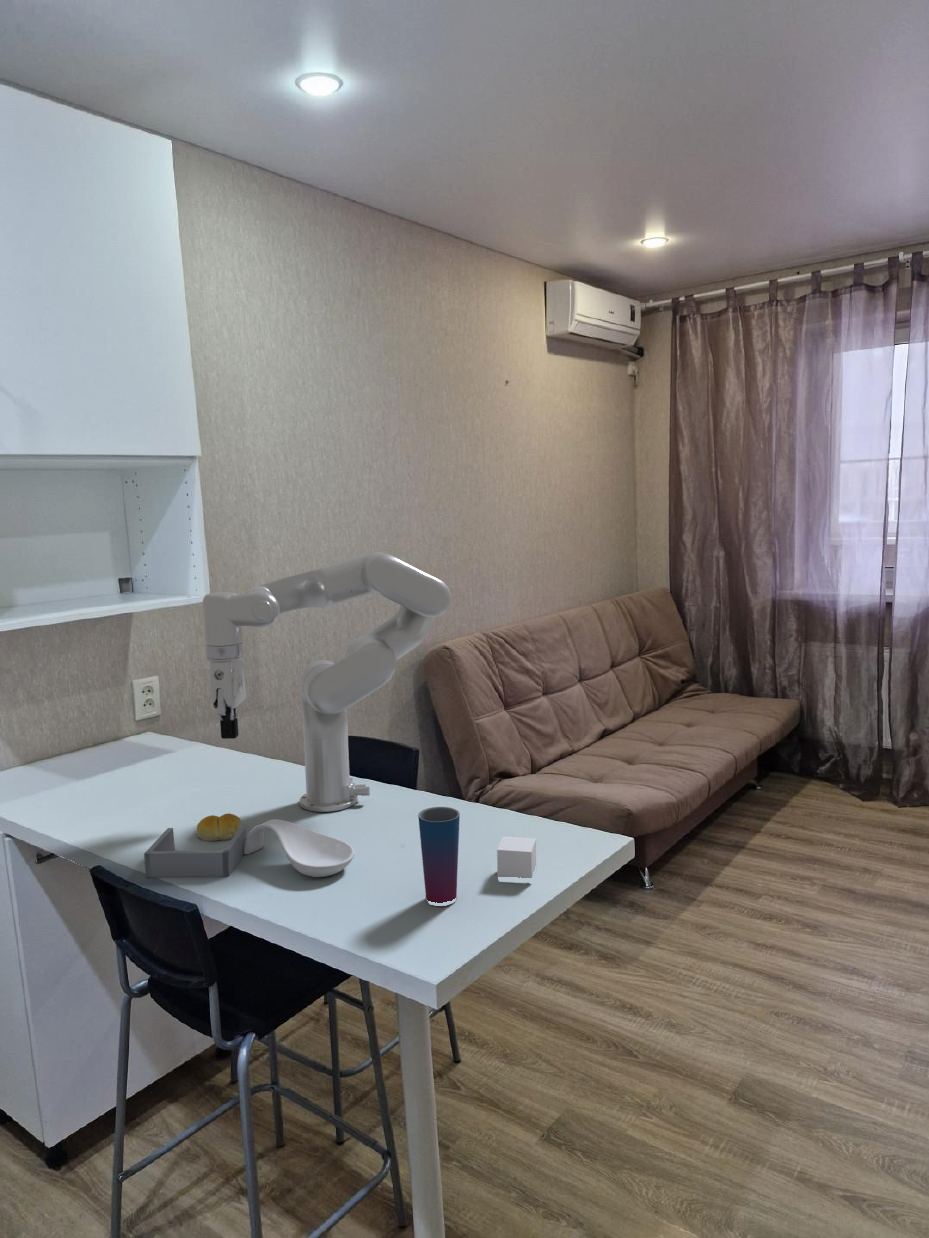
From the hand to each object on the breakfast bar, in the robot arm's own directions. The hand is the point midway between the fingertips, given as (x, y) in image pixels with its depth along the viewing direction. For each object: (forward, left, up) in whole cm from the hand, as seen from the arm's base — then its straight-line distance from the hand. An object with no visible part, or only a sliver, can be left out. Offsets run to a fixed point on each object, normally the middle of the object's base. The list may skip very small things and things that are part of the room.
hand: (229, 737), depth 185 cm
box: (0, +24, -17) cm, 30 cm away
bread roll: (0, +10, -18) cm, 20 cm away
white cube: (-59, +31, -17) cm, 69 cm away
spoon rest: (-19, +25, -18) cm, 36 cm away
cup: (-46, +40, -17) cm, 64 cm away
